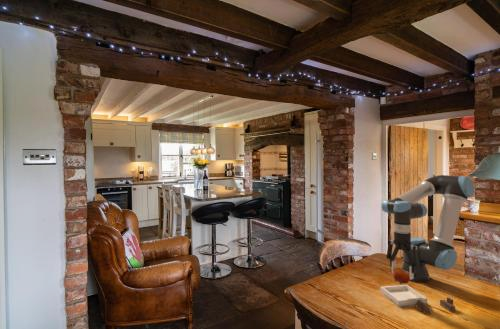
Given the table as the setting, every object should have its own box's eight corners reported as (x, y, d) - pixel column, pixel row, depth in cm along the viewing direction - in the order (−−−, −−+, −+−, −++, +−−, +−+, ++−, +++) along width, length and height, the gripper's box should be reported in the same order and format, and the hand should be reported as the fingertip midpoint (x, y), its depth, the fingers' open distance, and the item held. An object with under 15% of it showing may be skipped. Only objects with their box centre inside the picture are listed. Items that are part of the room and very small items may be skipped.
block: (446, 304, 136) (446, 295, 136) (456, 311, 130) (456, 301, 130) (414, 307, 134) (414, 298, 134) (424, 314, 128) (423, 304, 128)
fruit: (387, 278, 144) (392, 264, 145) (396, 284, 147) (401, 269, 148) (401, 284, 136) (407, 269, 138) (410, 290, 139) (415, 274, 141)
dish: (406, 290, 151) (406, 284, 151) (427, 304, 136) (427, 298, 136) (380, 292, 150) (380, 286, 150) (398, 307, 135) (398, 300, 135)
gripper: (378, 229, 148) (378, 271, 149) (421, 237, 132) (421, 285, 132) (385, 226, 153) (386, 267, 153) (428, 234, 136) (428, 281, 137)
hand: (402, 275), depth 143 cm, fingers closed on fruit, 8 cm apart
